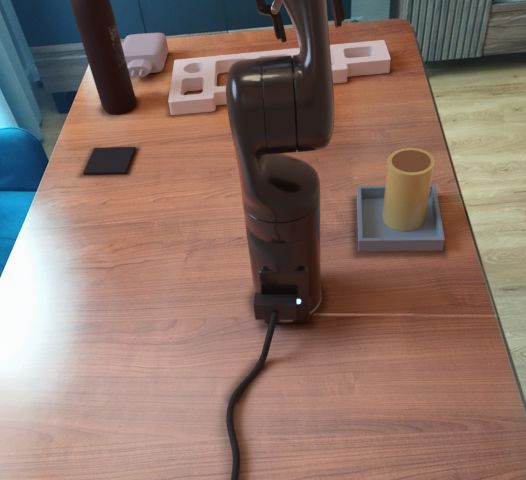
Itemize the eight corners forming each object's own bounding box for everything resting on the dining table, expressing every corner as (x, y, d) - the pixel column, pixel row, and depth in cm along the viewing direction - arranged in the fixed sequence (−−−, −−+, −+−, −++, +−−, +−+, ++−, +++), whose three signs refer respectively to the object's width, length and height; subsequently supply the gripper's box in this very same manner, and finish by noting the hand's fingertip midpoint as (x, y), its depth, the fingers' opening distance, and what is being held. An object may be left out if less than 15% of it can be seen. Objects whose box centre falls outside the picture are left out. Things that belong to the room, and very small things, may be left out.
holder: (383, 52, 126) (384, 39, 124) (397, 94, 115) (398, 81, 112) (176, 72, 128) (174, 59, 126) (170, 115, 117) (167, 102, 115)
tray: (442, 253, 86) (445, 239, 84) (358, 254, 87) (358, 240, 85) (433, 197, 94) (435, 184, 92) (356, 199, 95) (357, 185, 93)
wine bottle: (135, 112, 118) (89, -60, 95) (101, 116, 119) (46, -55, 95) (138, 95, 123) (94, -74, 100) (105, 99, 123) (53, -69, 100)
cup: (427, 231, 88) (437, 174, 80) (382, 231, 89) (388, 175, 81) (423, 204, 92) (432, 146, 84) (381, 204, 93) (386, 148, 85)
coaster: (126, 174, 105) (125, 171, 105) (83, 174, 106) (82, 172, 106) (135, 148, 110) (135, 146, 110) (95, 150, 111) (94, 147, 111)
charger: (117, 88, 126) (130, 56, 135) (159, 86, 125) (169, 53, 134) (111, 66, 122) (124, 34, 131) (154, 63, 121) (164, 31, 130)
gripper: (238, -85, 80) (267, 45, 86) (340, -115, 79) (362, 18, 85) (238, -70, 87) (265, 49, 93) (332, -98, 86) (352, 24, 92)
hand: (311, 34), depth 89 cm, fingers open, 8 cm apart
